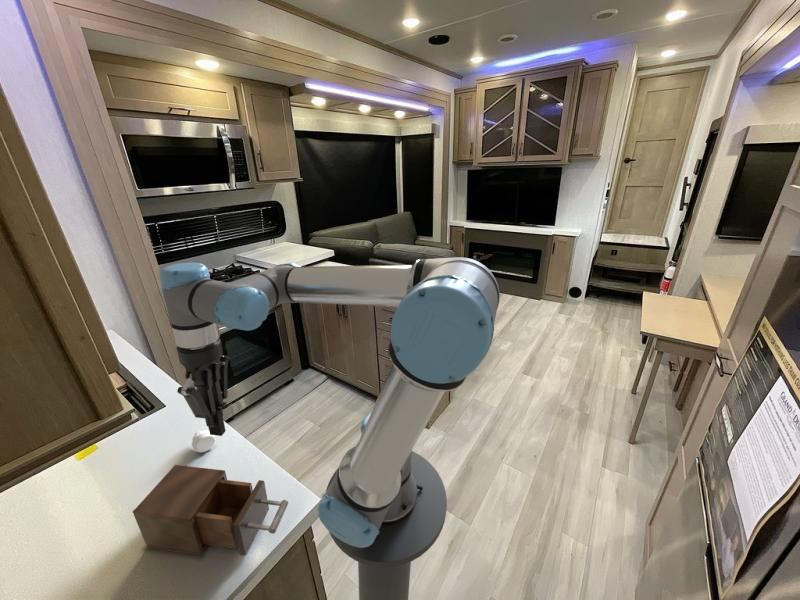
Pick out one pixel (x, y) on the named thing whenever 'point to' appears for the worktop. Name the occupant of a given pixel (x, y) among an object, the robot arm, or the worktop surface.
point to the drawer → (236, 515)
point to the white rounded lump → (203, 441)
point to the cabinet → (177, 509)
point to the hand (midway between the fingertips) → (217, 432)
